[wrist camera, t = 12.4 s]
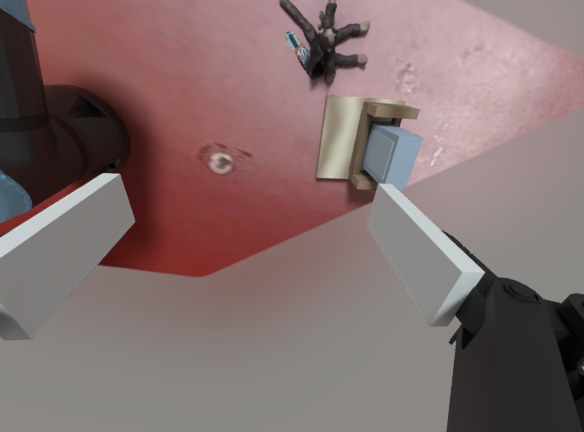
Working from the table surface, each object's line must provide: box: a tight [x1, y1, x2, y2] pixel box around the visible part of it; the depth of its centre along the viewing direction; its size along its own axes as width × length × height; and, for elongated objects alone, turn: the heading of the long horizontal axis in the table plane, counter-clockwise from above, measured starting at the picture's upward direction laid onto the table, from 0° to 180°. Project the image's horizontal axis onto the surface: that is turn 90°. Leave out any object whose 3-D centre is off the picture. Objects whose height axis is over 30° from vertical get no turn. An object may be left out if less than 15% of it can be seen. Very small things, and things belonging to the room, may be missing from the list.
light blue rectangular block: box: [361, 121, 423, 190], centre depth 40 cm, size 8×4×12 cm, turn 176°
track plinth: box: [315, 95, 420, 190], centre depth 43 cm, size 14×15×8 cm
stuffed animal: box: [280, 0, 370, 83], centre depth 37 cm, size 12×10×12 cm
